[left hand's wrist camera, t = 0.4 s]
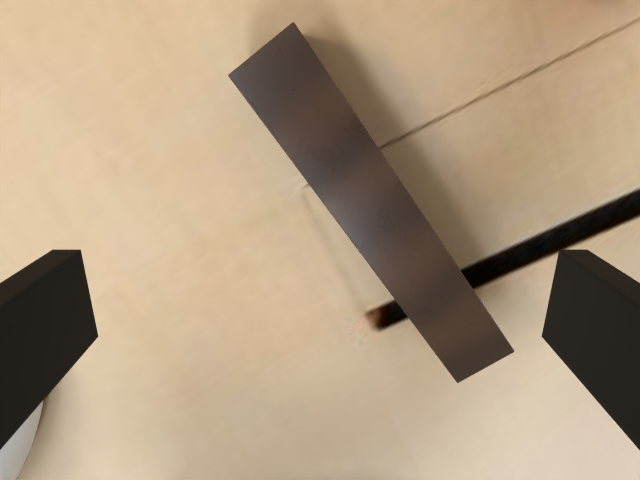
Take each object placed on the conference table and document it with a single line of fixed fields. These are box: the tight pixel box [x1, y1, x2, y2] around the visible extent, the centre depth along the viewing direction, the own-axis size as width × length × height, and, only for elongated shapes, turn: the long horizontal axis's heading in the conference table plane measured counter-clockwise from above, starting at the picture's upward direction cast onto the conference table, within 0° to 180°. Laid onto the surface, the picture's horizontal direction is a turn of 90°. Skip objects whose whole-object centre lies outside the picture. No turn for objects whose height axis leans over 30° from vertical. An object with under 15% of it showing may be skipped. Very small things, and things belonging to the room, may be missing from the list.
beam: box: [228, 22, 514, 383], centre depth 34 cm, size 28×5×8 cm, turn 36°
